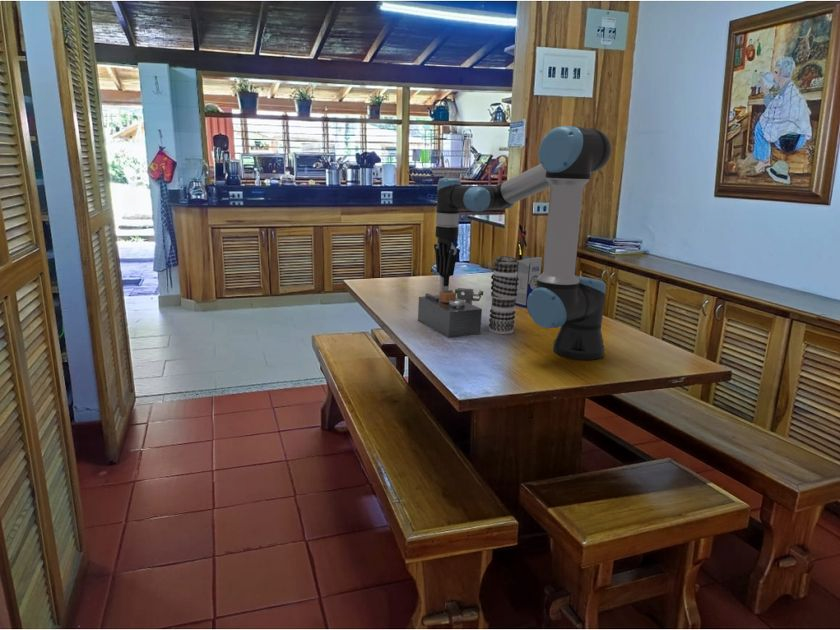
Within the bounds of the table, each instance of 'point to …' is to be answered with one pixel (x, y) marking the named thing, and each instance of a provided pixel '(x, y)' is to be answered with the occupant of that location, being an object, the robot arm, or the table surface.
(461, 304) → the pin
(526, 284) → the milk carton
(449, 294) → the block
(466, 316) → the hitch block
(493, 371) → the table surface
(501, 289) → the decorative candle
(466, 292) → the mechanical component
